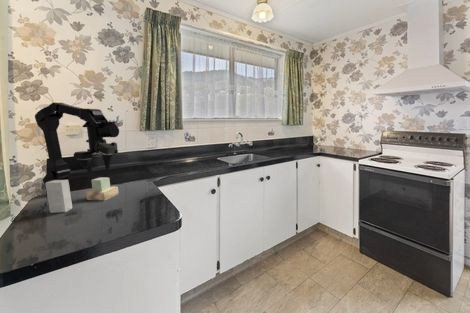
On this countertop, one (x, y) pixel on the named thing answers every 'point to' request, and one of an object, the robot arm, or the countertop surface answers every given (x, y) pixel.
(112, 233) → the countertop surface
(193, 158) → the countertop surface
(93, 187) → the sage cube
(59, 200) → the skincare box
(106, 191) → the maple block
